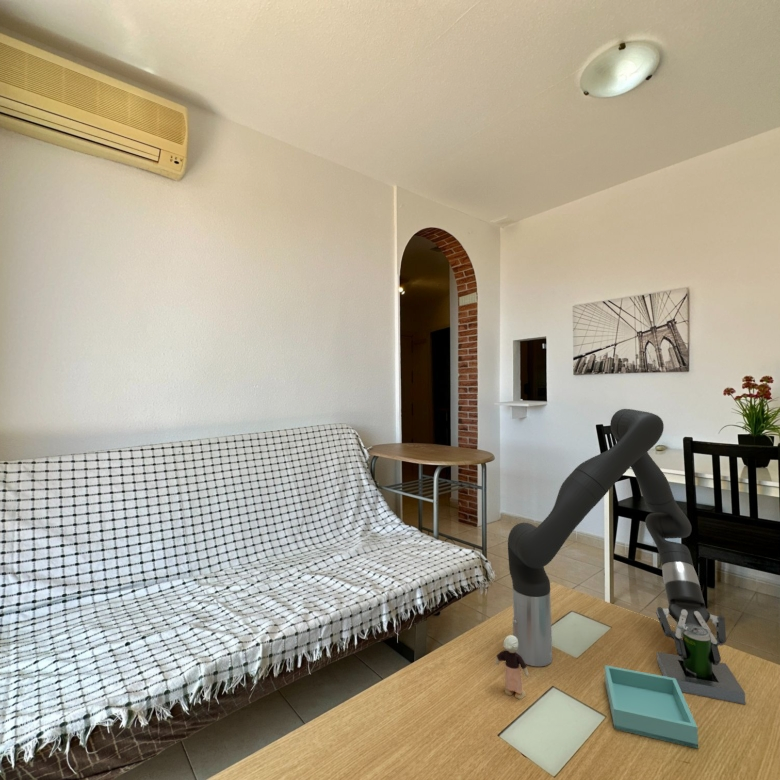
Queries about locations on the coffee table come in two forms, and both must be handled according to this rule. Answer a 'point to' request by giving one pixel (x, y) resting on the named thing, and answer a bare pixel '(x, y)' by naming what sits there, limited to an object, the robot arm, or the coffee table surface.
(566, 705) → the coffee table surface
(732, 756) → the coffee table surface
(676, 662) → the gray rectangular block
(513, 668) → the grandmother figurine
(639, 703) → the tray
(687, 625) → the beer can
